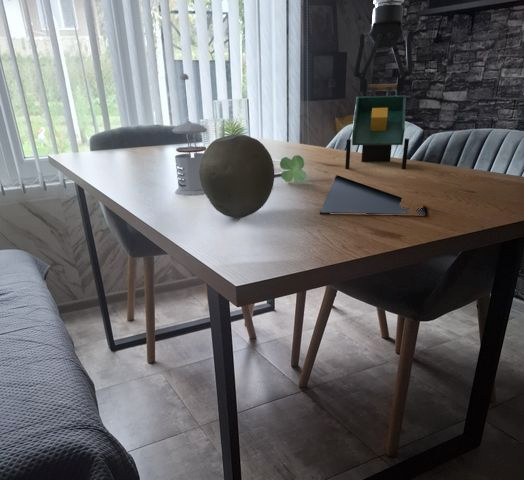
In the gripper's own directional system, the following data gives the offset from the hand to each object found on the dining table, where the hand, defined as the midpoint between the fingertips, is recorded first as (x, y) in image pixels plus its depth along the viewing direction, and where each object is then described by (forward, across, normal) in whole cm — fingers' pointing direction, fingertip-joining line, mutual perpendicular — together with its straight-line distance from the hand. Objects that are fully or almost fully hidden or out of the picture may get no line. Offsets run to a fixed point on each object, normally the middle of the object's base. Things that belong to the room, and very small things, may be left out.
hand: (380, 105), depth 135 cm
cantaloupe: (+16, +25, +63) cm, 70 cm away
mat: (+16, 0, +38) cm, 41 cm away
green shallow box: (+3, 0, +7) cm, 7 cm away
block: (+4, 0, +10) cm, 11 cm away
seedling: (+16, +20, +24) cm, 35 cm away
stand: (+16, 0, +10) cm, 19 cm away
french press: (+16, +43, +38) cm, 59 cm away
